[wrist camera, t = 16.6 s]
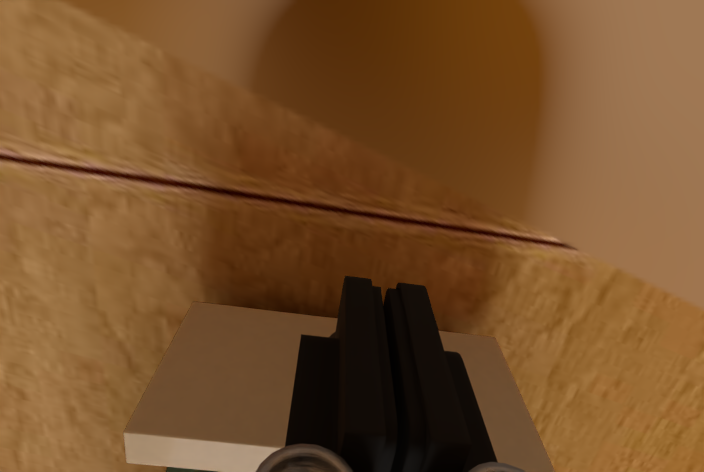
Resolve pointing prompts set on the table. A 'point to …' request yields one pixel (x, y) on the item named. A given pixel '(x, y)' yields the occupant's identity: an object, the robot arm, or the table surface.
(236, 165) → the table surface
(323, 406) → the robot arm
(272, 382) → the drawer
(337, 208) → the table surface
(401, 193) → the table surface
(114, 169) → the table surface
